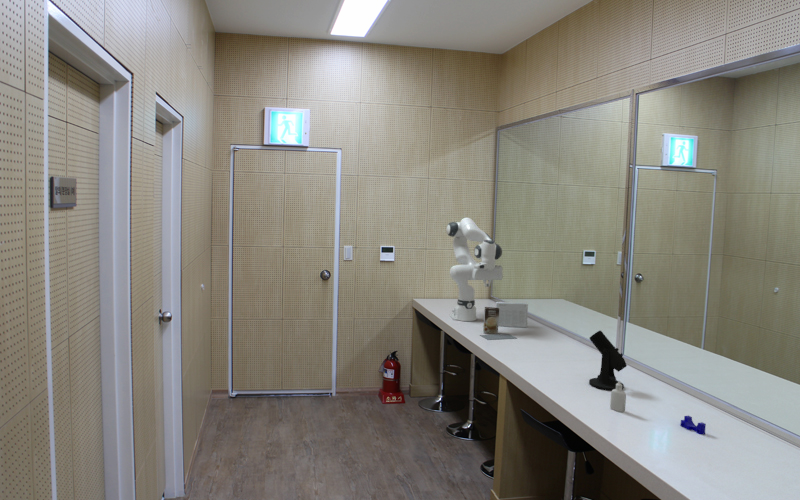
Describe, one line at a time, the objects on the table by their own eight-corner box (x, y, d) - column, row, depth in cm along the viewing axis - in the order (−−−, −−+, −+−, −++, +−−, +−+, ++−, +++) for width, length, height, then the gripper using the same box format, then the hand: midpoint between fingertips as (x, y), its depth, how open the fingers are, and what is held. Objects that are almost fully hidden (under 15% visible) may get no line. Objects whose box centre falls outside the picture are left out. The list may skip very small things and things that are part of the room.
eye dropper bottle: (618, 407, 221) (620, 378, 220) (626, 412, 216) (628, 383, 215) (608, 407, 221) (610, 379, 220) (616, 412, 215) (618, 383, 214)
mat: (479, 335, 336) (479, 335, 336) (508, 334, 342) (508, 333, 342) (487, 339, 326) (487, 339, 326) (517, 338, 331) (517, 338, 331)
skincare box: (526, 326, 368) (527, 302, 366) (527, 327, 362) (528, 304, 361) (494, 324, 370) (495, 301, 368) (495, 326, 364) (496, 302, 363)
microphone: (592, 377, 259) (596, 326, 257) (630, 386, 249) (633, 332, 246) (581, 384, 248) (584, 331, 246) (619, 394, 237) (623, 338, 235)
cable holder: (680, 426, 204) (681, 416, 204) (688, 425, 205) (688, 415, 205) (696, 435, 196) (697, 424, 196) (704, 434, 197) (705, 424, 197)
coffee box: (483, 333, 342) (484, 308, 340) (483, 331, 348) (484, 306, 346) (498, 334, 341) (499, 309, 339) (497, 332, 347) (498, 307, 346)
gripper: (500, 264, 354) (499, 285, 355) (471, 264, 348) (470, 286, 350) (504, 266, 348) (503, 287, 349) (475, 266, 342) (474, 287, 344)
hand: (487, 286), depth 349 cm, fingers closed
